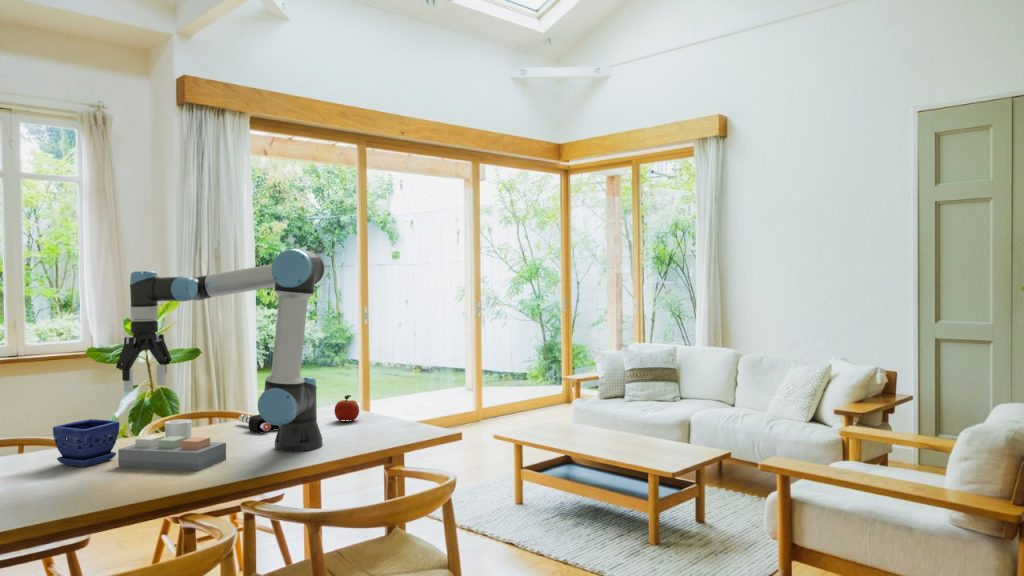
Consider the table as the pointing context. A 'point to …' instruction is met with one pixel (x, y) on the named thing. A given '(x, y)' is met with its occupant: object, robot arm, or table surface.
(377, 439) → the table surface
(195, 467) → the key panel
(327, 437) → the table surface
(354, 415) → the fruit
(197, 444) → the key terracotta
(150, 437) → the key offwhite
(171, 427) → the white cup
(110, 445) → the flower pot
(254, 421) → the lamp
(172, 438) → the key sage
